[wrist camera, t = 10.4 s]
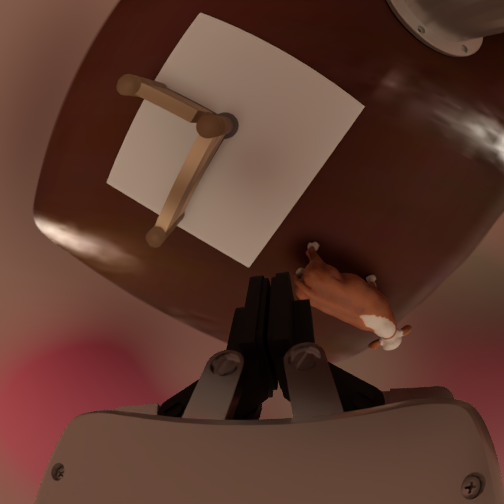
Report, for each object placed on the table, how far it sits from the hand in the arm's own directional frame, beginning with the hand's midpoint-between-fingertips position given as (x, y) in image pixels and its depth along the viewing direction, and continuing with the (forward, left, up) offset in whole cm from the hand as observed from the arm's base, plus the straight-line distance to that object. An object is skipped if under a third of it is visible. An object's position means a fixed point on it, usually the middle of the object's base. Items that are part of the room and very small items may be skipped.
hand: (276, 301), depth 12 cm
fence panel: (+1, -7, -14) cm, 16 cm away
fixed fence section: (-4, -12, -15) cm, 19 cm away
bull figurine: (+2, +10, -15) cm, 18 cm away
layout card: (-3, -7, -15) cm, 17 cm away
